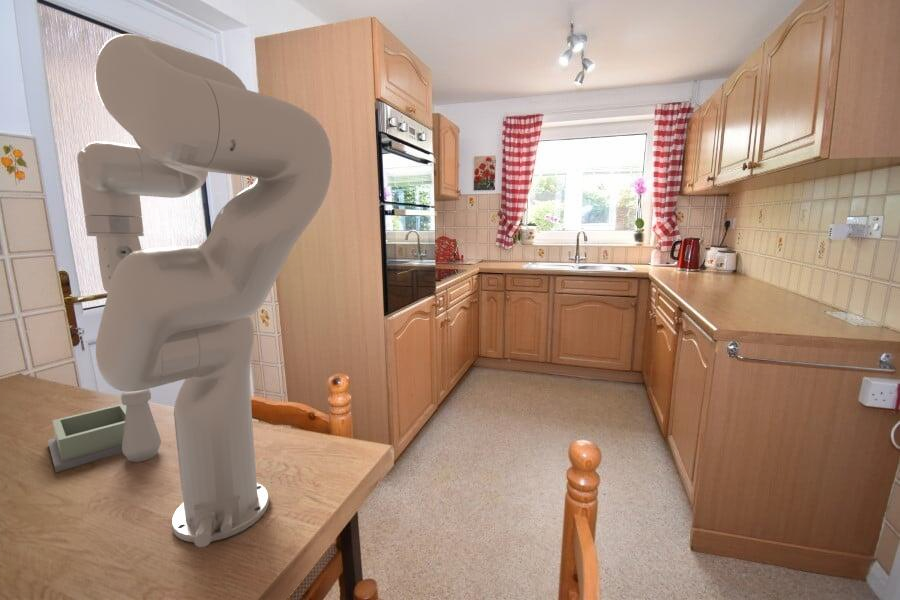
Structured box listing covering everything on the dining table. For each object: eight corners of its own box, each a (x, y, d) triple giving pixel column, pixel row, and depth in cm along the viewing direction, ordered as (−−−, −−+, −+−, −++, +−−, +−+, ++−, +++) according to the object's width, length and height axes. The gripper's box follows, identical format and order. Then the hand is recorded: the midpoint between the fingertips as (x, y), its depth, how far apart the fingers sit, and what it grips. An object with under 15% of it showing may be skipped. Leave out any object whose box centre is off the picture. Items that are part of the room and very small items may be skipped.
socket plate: (147, 444, 81) (144, 419, 80) (55, 472, 71) (51, 444, 71) (132, 423, 90) (129, 400, 89) (48, 445, 80) (44, 420, 79)
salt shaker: (141, 466, 73) (133, 397, 71) (115, 463, 74) (105, 394, 72) (169, 450, 79) (162, 384, 77) (144, 446, 80) (136, 382, 78)
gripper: (155, 228, 67) (166, 332, 70) (131, 226, 78) (141, 315, 81) (95, 227, 61) (109, 340, 64) (78, 226, 73) (91, 321, 76)
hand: (127, 326), depth 73 cm, fingers open, 9 cm apart
